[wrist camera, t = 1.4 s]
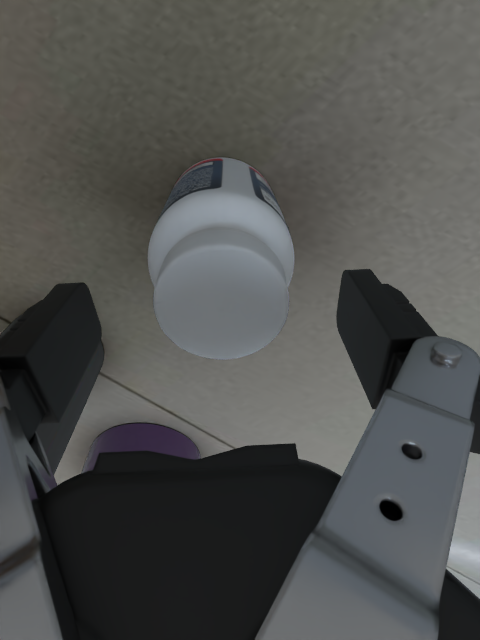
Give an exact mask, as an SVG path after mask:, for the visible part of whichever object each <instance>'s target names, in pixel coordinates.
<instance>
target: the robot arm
mask: <svg viewBox="0 0 480 640" xmlns="http://www.w3.org/2000/svg"><path fill="white" fill-rule="evenodd" d="M337 328H338V331H339V334H340V336H341V339H342V341H343V343H344V345H345V348H346V350H347V352H348V354H349V357H350V359H351V361H352V363H353V366H354V368H355V370H356V373H357V375H358V377H359V379H360V382H361V384H362V386H363V388H364V391H365V393H366V395H367V397H368V400H369V402H370V404H371V407H372V409H376V410H375V412H374V414H373V416H372V418H371V420H370V422H369V424H368V426H367V428H366V430H365V432H364V434H363V436H362V438H361V440H360V442H359V444H358V446H357V448H356V450H355V452H354V454H353V456H352V458H351V460H350V462H349V464H348V466H347V468H346V470H345V472H344V473H343V475H342V476H340V475H338V474H337V473H335V472H333V471H331V470H330V469H327V468H325V467H323V466H321V465H318V464H315V463H312V462H309V461H306V460H301V459H298V455H297V450H296V444H273V445H252V446H244V447H241V448H237V449H234V450H230V451H227V452H223V453H219V454H216V455H212V456H209V457H205V458H202V459H188V458H183V457H178V456H173V455H168V454H163V453H158V452H153V451H148V450H145V451H123V452H102V453H99V455H98V457H97V460H96V463H95V466H94V469H93V470H90V471H87V472H84V473H82V474H79V475H76V476H74V477H72V478H70V479H68V480H66V481H64V482H63V483H61V484H59V485H58V486H57V483H56V481H55V478H54V475H53V473H52V470H51V467H50V464H49V462H48V459H47V456H46V454H45V451H44V448H43V445H42V443H41V440H40V438H39V436H38V434H37V433H36V430H37V428H38V426H39V424H44V423H59V422H60V420H61V418H62V416H63V414H64V412H65V410H66V408H67V406H68V404H69V402H70V401H71V399H72V397H73V395H74V393H75V391H76V389H77V387H78V385H79V383H80V381H81V379H82V377H83V375H84V373H85V371H86V369H87V367H88V365H89V363H90V361H91V359H92V357H93V355H94V353H95V351H96V349H97V347H98V345H99V343H100V341H101V325H100V321H99V318H98V315H97V312H96V309H95V306H94V303H93V300H92V297H91V294H90V291H89V288H88V287H87V285H86V284H85V283H63V284H57V285H56V286H55V287H54V288H53V289H52V290H51V291H50V293H49V294H48V295H47V296H46V297H45V298H44V299H43V300H41V301H40V302H38V303H36V304H35V305H33V306H32V307H30V308H28V309H27V310H26V311H25V312H24V313H23V314H22V315H21V317H20V318H19V319H18V322H15V323H14V324H13V325H12V326H11V328H10V331H7V332H6V333H5V334H4V335H3V336H2V337H1V339H0V640H480V599H479V598H478V597H477V596H476V595H475V594H473V593H472V592H471V591H470V590H469V589H468V588H467V587H466V586H465V585H464V584H462V583H461V582H460V581H459V580H458V579H457V578H456V577H455V576H454V575H452V574H451V573H450V572H449V571H448V570H447V569H446V565H447V560H448V555H449V551H450V546H451V541H452V536H453V531H454V526H455V521H456V516H457V511H458V506H459V502H460V497H461V492H462V487H463V482H464V477H465V472H466V467H467V462H468V457H469V453H470V452H473V453H478V454H480V357H479V356H478V354H477V353H476V352H475V351H474V350H472V349H471V348H470V347H468V346H467V345H465V344H463V343H461V342H459V341H456V340H453V339H450V338H446V337H439V336H438V335H437V334H436V333H435V332H434V331H433V329H432V328H431V327H430V326H429V325H428V323H427V322H426V321H425V320H424V319H423V317H422V316H421V315H420V314H419V313H418V312H416V309H415V308H414V307H413V305H412V304H409V301H408V299H407V298H406V297H405V296H404V295H403V293H402V292H401V291H399V290H397V289H396V288H394V287H392V286H390V285H389V284H381V282H380V281H379V280H378V279H377V277H376V276H375V275H374V273H373V272H372V271H371V270H370V269H359V270H345V271H344V272H343V274H342V278H341V286H340V293H339V300H338V307H337Z"/></svg>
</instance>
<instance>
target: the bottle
mask: <svg viewBox="0 0 480 640" xmlns="http://www.w3.org/2000/svg"><path fill="white" fill-rule="evenodd" d="M20 317H21V316H19V317H18V318H16V319H15V320H14V321H13V322H12V323H11V324H10V325H9V326H8V327H7V328H6V329H5V330H4V331H3V332H2V333H1V334H0V339H1V337H2V336H3V335H4V334H5V333H6V332H7V331H10V328H11V326H12V325H13V324H14V323H15V322H18V319H19V318H20ZM103 360H104V351H103V346H102V344H101V342H100V343H99V345H98V347H97V349H96V351H95V353H94V355H93V357H92V359H91V361H90V363H89V365H88V367H87V369H86V371H85V373H84V375H83V377H82V379H81V381H80V383H79V385H78V387H77V389H76V391H75V393H74V395H73V397H72V399H71V401H70V402H69V404H68V406H67V408H66V410H65V412H64V414H63V416H62V418H61V420H60V422H59V423H44V424H39V426H38V428H37V430H36V433H37V434H38V436H39V438H40V440H41V443H42V445H43V448H44V451H45V454H46V456H47V459H48V462H49V464H50V467H51V470H52V473H53V475H54V473H55V471H56V469H57V467H58V464H59V462H60V460H61V458H62V456H63V453H64V451H65V449H66V447H67V444H68V442H69V440H70V438H71V435H72V433H73V431H74V429H75V426H76V424H77V422H78V420H79V417H80V415H81V413H82V411H83V408H84V406H85V404H86V402H87V399H88V397H89V395H90V392H91V390H92V388H93V386H94V383H95V381H96V379H97V376H98V374H99V372H100V369H101V367H102V364H103Z"/></svg>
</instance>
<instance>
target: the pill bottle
mask: <svg viewBox="0 0 480 640" xmlns="http://www.w3.org/2000/svg"><path fill="white" fill-rule="evenodd" d="M148 268H149V274H150V277H151V280H152V283H153V285H154V287H155V289H154V295H153V307H154V312H155V316H156V319H157V321H158V323H159V325H160V327H161V329H162V331H163V332H164V333H165V334H166V336H167V337H168V338H169V339H170V340H171V341H172V342H174V343H175V344H176V345H177V346H179V347H180V348H182V349H184V350H185V351H187V352H189V353H192V354H194V355H197V356H201V357H204V358H208V359H219V360H225V359H235V358H240V357H243V356H247V355H250V354H252V353H255V352H257V351H258V350H260V349H262V348H263V347H265V346H266V345H268V344H269V343H270V342H271V341H272V340H273V339H274V338H275V337H276V336H277V335H278V334H279V332H280V331H281V329H282V327H283V326H284V324H285V321H286V319H287V315H288V311H289V302H290V301H289V292H288V287H289V284H290V282H291V279H292V275H293V270H294V248H293V243H292V238H291V235H290V232H289V228H288V226H287V224H286V222H285V219H284V217H283V214H282V212H281V209H280V207H279V205H278V203H277V200H276V198H275V196H274V194H273V191H272V189H271V188H270V186H269V184H268V182H267V181H266V180H265V178H264V177H263V176H262V175H261V174H260V173H259V172H258V171H257V170H256V169H254V168H253V167H251V166H250V165H248V164H246V163H244V162H242V161H239V160H236V159H232V158H225V157H217V158H210V159H205V160H203V161H200V162H198V163H196V164H194V165H193V166H191V167H190V168H188V169H187V170H186V171H185V172H184V173H183V174H182V175H181V176H180V178H179V179H178V180H177V182H176V183H175V185H174V187H173V189H172V191H171V193H170V196H169V198H168V200H167V202H166V204H165V206H164V208H163V210H162V212H161V215H160V216H159V218H158V221H157V223H156V225H155V227H154V229H153V232H152V235H151V238H150V242H149V247H148Z"/></svg>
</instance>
